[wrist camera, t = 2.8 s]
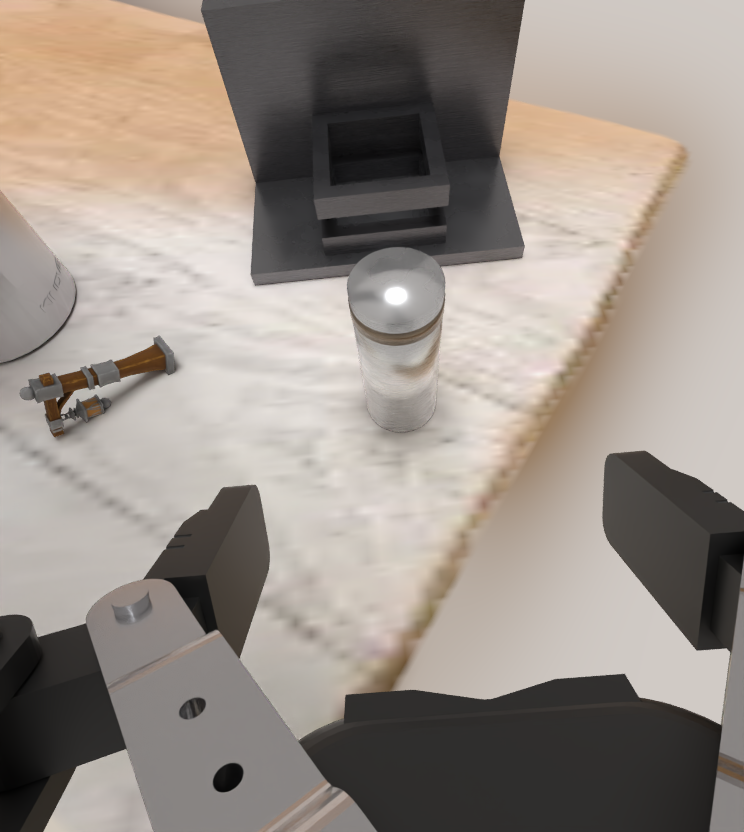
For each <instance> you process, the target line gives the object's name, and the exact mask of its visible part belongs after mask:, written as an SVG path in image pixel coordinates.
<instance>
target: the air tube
mask: <svg viewBox="0 0 744 832" xmlns="http://www.w3.org/2000/svg"><path fill="white" fill-rule="evenodd" d="M347 291H348V301H349V307H350V313H351V318H352V321H353V326H354V332H355V338H356V344H357V349H358V355H359V361H360V367H361V373H362V378H363V384H364V390H365V396H366V401H367V407H368V411H369V414H370V416H371V417H372V419H373V420H374V421H375V422H376V423H377V424H378V425H379V426H381V427H382V428H384V429H386V430H389V431H393V432H409V431H413V430H416V429H418V428H420V427H421V426H423V425H424V424H426V423H427V422H428V421H429V419H430V418H431V417H432V415H433V413H434V410H435V406H436V395H437V382H438V370H439V357H440V344H441V332H442V319H443V313H444V303H445V277H444V273H443V271H442V269H441V267H440V266H439V264H438V263H437V262H436V261H435V260H434V259H433V258H431V257H430V256H429V255H427V254H425V253H423V252H421V251H418V250H415V249H411V248H405V247H391V248H385V249H381V250H378V251H375V252H373V253H371V254H369V255H367V256H366V257H364V258H363V259H361V260H360V261H359V262H358V263H357V264H356V265H355V267H354V268H353V269H352V271H351V273H350V275H349V278H348V282H347Z"/></svg>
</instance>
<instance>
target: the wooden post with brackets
mask: <svg viewBox="0 0 744 832" xmlns="http://www.w3.org/2000/svg"><path fill="white" fill-rule="evenodd" d="M80 369H81V371H77V372H73V373H69V374H65V375H61V376H56V374H55V373H54V374H52V375H50V373H46V374H43V375H39V378H38V379H31V380H28V381H29V385H30V387H25V388H23V389H22V390H21V391H20V396H21V398H22V399H24V400H32V399H34V398H35V400H36V401H37V403H40V402H42V401H44V405H45V409H46V414H45V417H46V421H47V423H48V425H49V427H50V431H51V433H52V434H53V436H54V437H56V436H59V435H62V434H64V432H63V430H64V429H63V426H64V425H63V421H64V420H66V419H67V418H72V419H74V420H76V418H75V416H77V417H79V416H80V417H81V418H82V419H84V420H85V421H86V422H88V418H89V417H93V416H96V415H100V414H104V413H105V412H104V408H108V407H109V406H110V405H111V401H110V400H109V399H108V398H102V399H101V400H100V399H99V398H98V396H97V395H95V396H94V397H92V398H90V399H87V400H85V401H82V402H80V401H79V400H78V399H76V402H77V404H76V409H75V408H74V411H72V409H71V408H69V412H68V413H66V414H61V409H62V407H63V406H64V405H65V403H66V402H67V400H68V399H69V398H70V396H71V395H72V394H73V392H74V391H75V390H79V389H83V388H89V390H91V389H95V386H96V385H99V386H100V387H102V386H104V385H107V384H110V383H113V382H121V381H120V378H123V377H127V376H130V375H134V374H140V373H145V372H150V371H155V370H165V371H166V373H167V374H168V375H169V374H172V373H174V353H173V351H172V350H171V349H170V348H169V346H168V345H167V344H166V343H165V342H164V340H163V339H162V338H161V337H160V335H159V336H158V337H156V338H154V345H152V346H151V347H149V348H147V349H145V350H143V351H141V352H138V353H136V354H134V355H132V356H129V357H127V358H125V359H122V360H119V361H115V362H113V361H112V360H109V361H107V362H104V363H100V364H92V365H91V368H88V369H87V368H86V366H85V367H80ZM63 393H64V394H63ZM57 397H61V398H60V399H59V400H58V402H57V401H56V398H57ZM60 414H61V415H60ZM67 414H69V416H70V417H68V415H67ZM63 415H65V419H62V417H61V416H63Z"/></svg>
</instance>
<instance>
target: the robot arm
mask: <svg viewBox="0 0 744 832" xmlns="http://www.w3.org/2000/svg"><path fill="white" fill-rule="evenodd" d="M75 294H76V289H75V283H74V280H73V278H72V276H71V274H70V272H69V271H68V270H67V269H66V268H65V267H64V265H63V264H62V263H61V262H60V261H59V259H58V258H57V257H56V256H55V255H54V254H53V252H52V251H51V250H50V249H49V248H48V246H47V245H46V244H45V243H44V242H43V241H42V239H41V238H40V237H39V236H38V235H37V233H36V232H35V231H34V230H33V228H32V227H31V226H30V225H29V224H28V222H27V221H26V220H25V219H24V218H23V217H22V215H21V214H20V213H19V212H18V211H17V209H16V208H15V207H14V206H13V205H12V204H11V202H10V201H9V200H8V199H7V198H6V196H5V195H4V194H3V193H2V192H1V191H0V363H2V362H6V361H10V360H13V359H15V358H18V357H20V356H22V355H25V354H27V353H29V352H30V351H32V350H34V349H35V348H37V347H39V346H40V345H42V344H43V343H44V342H45V341H47V340H48V339H49V338H50V337H52V336H53V335H54V334H55V333H56V331H57V330H58V329H59V328H60V327H61V326H62V325H63V323H64V322H65V320H66V319H67V317H68V316H69V314H70V312H71V309H72V307H73V304H74V302H75ZM603 527H604V531H605V534H606V537H607V539H608V541H609V543H610V545H611V546H612V547H613V548H614V549H615V551H616V552H617V553H618V554H619V556H620V557H621V558H622V559H623V561H624V562H625V563H626V564H627V566H628V567H629V568H630V569H631V570H632V572H633V573H634V574H635V575H636V577H637V578H638V579H639V580H640V581H641V582H642V584H643V585H644V586H645V588H646V589H647V590H648V591H649V592H650V594H651V595H652V596H653V597H654V599H655V600H656V601H657V602H658V604H659V605H660V606H661V607H662V609H663V610H664V611H665V612H666V613H667V615H668V616H669V617H670V618H671V619H672V621H673V622H674V623H675V624H676V626H677V627H678V628H679V629H680V631H681V632H682V633H683V634H684V635H685V637H686V638H687V639H688V640H689V642H690V643H691V644H692V645H693V647H695V649H696V650H710V649H722V648H727V649H728V650H729V651H730V659H729V667H728V674H727V682H726V689H725V697H724V704H723V711H722V719H721V725H720V724H718V723H716V722H714V721H712V720H710V719H708V718H706V717H703V716H701V715H698V714H696V713H693V712H691V711H688V710H686V709H683V708H680V707H677V706H674V705H670V704H667V703H663V702H659V701H654V700H650V699H645V698H639V697H638V695H637V694H636V692H635V690H634V689H633V687H632V685H631V684H630V682H629V680H628V679H627V677H626V675H625V674H617V675H606V676H591V677H578V678H564V679H554V680H551V681H548V682H545V683H542V684H538V685H535V686H532V687H529V688H526V689H523V690H520V691H516V692H513V693H510V694H507V695H503V696H500V697H497V698H494V699H487V700H483V699H474V698H468V697H460V696H453V695H446V694H439V693H432V692H425V691H418V690H404V691H391V692H378V693H364V694H351V695H346V697H345V713H344V719H341V720H338V721H335V722H333V723H330V724H328V725H326V726H324V727H321V728H319V729H317V730H315V731H314V732H312V733H310V734H308V735H307V736H305V737H303V738H302V739H300V740H299V741H297V739H296V738H295V736H294V735H293V734H292V732H291V731H290V729H289V728H288V727H287V725H286V724H285V722H284V721H283V720H282V718H281V717H280V715H279V714H278V713H277V711H276V710H275V708H274V707H273V706H272V704H271V703H270V701H269V700H268V699H267V697H266V696H265V694H264V693H263V692H262V690H261V689H260V687H259V686H258V685H257V683H256V682H255V680H254V679H253V678H252V676H251V675H250V673H249V672H248V671H247V669H246V668H245V666H244V665H243V664H242V662H241V661H240V659H239V658H240V655H241V652H242V649H243V646H244V643H245V640H246V637H247V634H248V631H249V628H250V625H251V622H252V619H253V616H254V613H255V610H256V607H257V604H258V601H259V598H260V595H261V592H262V589H263V586H264V583H265V580H266V577H267V574H268V570H269V562H270V551H269V543H268V537H267V532H266V526H265V521H264V515H263V510H262V504H261V499H260V494H259V490H258V488H257V486H256V485H246V486H234V487H223V488H222V489H221V490H220V492H219V493H218V495H217V497H216V498H215V500H214V501H213V503H212V504H211V506H210V507H209V509H208V510H200V511H199V512H197V513H196V514H195V515H193V516H192V517H190V518H189V519H188V520H186V521H185V522H183V524H182V525H181V527H180V528H179V530H178V531H177V532H176V534H175V535H174V538H172V539H171V541H170V542H169V544H168V545H167V546H166V550H164V551H163V552H162V554H161V555H160V556H159V558H158V559H157V561H156V562H155V563H154V565H153V566H152V568H151V569H150V571H149V572H148V573H147V575H146V576H145V578H144V579H143V580H140V581H136V582H132V583H129V584H126V585H124V586H121V587H119V588H117V589H115V590H113V591H111V592H110V593H108V594H106V595H105V596H103V597H102V598H101V599H100V600H98V601H97V602H96V603H95V604H94V605H93V606H92V608H91V609H90V610H89V612H88V614H87V617H86V624H83V625H80V626H76V627H73V628H69V629H66V630H62V631H59V632H55V633H51V634H48V635H44V636H41V637H37V634H36V632H35V629H34V626H33V623H32V621H31V620H30V618H28V617H26V616H23V615H6V616H0V832H43V831H44V829H45V827H46V825H47V823H48V821H49V819H50V817H51V816H52V814H53V812H54V810H55V808H56V806H57V804H58V802H59V800H60V798H61V796H62V794H63V792H64V790H65V789H66V787H67V785H68V783H69V781H70V779H71V777H72V775H73V773H74V771H75V769H76V767H77V766H79V765H82V764H85V763H88V762H90V761H93V760H96V759H99V758H102V757H104V756H107V755H110V754H113V753H116V752H119V751H121V750H124V749H127V751H128V755H129V758H130V761H131V764H132V767H133V770H134V773H135V776H136V779H137V782H138V785H139V788H140V791H141V795H142V798H143V801H144V804H145V807H146V810H147V813H148V816H149V819H150V822H151V825H152V828H153V831H154V832H744V511H743V510H741V509H740V508H738V507H737V506H736V505H734V504H732V503H731V502H728V501H727V499H726V498H724V497H723V496H721V495H720V494H718V493H717V492H715V493H714V492H713V489H711V488H710V487H708V486H707V485H705V484H704V483H703V482H701V481H700V480H698V479H697V478H694V477H692V476H689V475H686V474H684V473H681V472H678V471H676V470H673V469H670V468H669V467H667V466H666V465H665V464H663V463H662V462H661V461H659V460H658V459H656V458H655V457H654V456H652V455H651V454H650V453H648V452H646V451H635V452H624V453H613V454H609V455H608V456H607V458H606V461H605V470H604V492H603Z"/></svg>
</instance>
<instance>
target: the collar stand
mask: <svg viewBox="0 0 744 832" xmlns="http://www.w3.org/2000/svg"><path fill="white" fill-rule="evenodd" d="M524 2H525V0H203V2H202V8H201V12H202V15H203V18H204V22H205V25H206V28H207V31H208V34H209V37H210V41H211V44H212V47H213V50H214V53H215V56H216V59H217V63H218V66H219V69H220V72H221V75H222V78H223V81H224V85H225V88H226V91H227V94H228V97H229V100H230V103H231V107H232V110H233V113H234V116H235V119H236V122H237V126H238V129H239V132H240V135H241V138H242V141H243V144H244V148H245V151H246V154H247V157H248V160H249V163H250V166H251V170H252V173H253V176H254V179H255V182H256V187H255V206H254V224H253V242H252V261H251V277H252V279H253V282H254V284H255V285H261V284H271V283H281V282H290V281H300V280H310V279H319V278H329V277H339V276H348V275H350V273H351V271H352V269H353V268H354V267H355V265H356V264H357V263H358V262H359V261H360V260H361V259H363V258H364V257H366V256H367V255H369V254H371V253H373V252H375V251H378V250H381V249H385V248H391V247H405V248H411V249H415V250H418V251H421V252H423V253H425V254H427V255H429V256H430V257H431V258H433V259H434V260H435V261H436V262H437V263H438V264H439V266H445V265H455V264H465V263H474V262H484V261H494V260H503V259H513V258H522V255H523V251H524V247H525V246H524V242H523V239H522V235H521V232H520V228H519V225H518V221H517V217H516V214H515V210H514V207H513V203H512V200H511V196H510V193H509V189H508V186H507V182H506V179H505V175H504V171H503V168H502V164H501V161H500V157H499V154H500V148H501V142H502V136H503V130H504V124H505V118H506V112H507V106H508V100H509V94H510V87H511V81H512V75H513V69H514V63H515V57H516V51H517V45H518V39H519V32H520V26H521V21H522V14H523V8H524Z"/></svg>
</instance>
